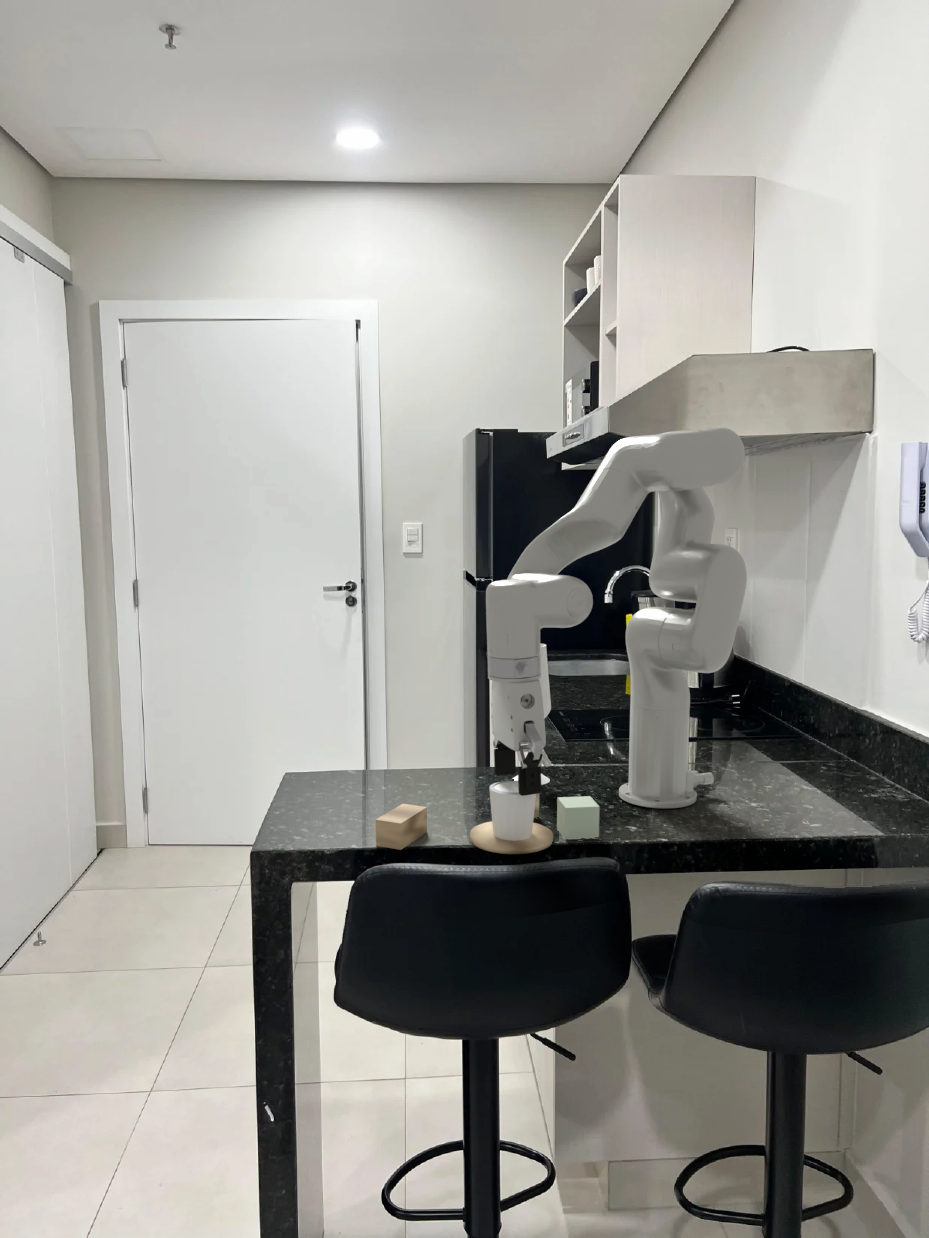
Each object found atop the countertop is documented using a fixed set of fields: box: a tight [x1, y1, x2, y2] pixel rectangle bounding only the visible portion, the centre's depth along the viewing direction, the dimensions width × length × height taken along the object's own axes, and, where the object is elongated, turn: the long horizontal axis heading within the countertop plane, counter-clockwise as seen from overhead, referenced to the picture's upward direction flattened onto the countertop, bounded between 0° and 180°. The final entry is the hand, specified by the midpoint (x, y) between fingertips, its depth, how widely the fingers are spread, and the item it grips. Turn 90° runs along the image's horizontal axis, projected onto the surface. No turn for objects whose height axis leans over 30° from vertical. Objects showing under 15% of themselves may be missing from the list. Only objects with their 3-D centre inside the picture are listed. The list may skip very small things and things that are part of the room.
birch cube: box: [534, 793, 540, 819], centre depth 146 cm, size 4×4×4 cm
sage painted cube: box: [556, 795, 600, 840], centre depth 138 cm, size 5×5×5 cm
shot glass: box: [488, 780, 536, 841], centre depth 135 cm, size 7×7×7 cm
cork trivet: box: [469, 820, 554, 855], centre depth 136 cm, size 12×12×1 cm
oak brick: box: [375, 803, 428, 851], centre depth 136 cm, size 8×4×4 cm, turn 155°
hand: (517, 783), depth 136 cm, fingers open, 9 cm apart
